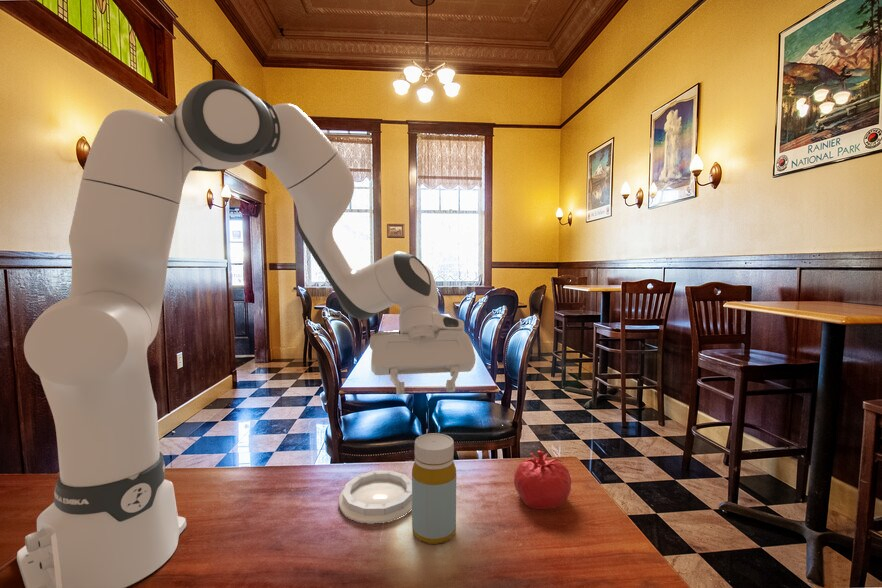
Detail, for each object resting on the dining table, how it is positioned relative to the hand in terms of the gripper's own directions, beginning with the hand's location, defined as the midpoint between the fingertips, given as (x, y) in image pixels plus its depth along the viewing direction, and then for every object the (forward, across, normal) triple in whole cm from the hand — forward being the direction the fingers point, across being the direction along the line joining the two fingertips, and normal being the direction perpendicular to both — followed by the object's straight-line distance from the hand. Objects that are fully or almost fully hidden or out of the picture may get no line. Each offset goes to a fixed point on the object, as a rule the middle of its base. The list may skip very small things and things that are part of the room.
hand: (426, 391), depth 77 cm
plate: (+15, -9, +12) cm, 21 cm away
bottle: (+22, 0, +5) cm, 23 cm away
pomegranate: (+18, +20, +9) cm, 29 cm away
